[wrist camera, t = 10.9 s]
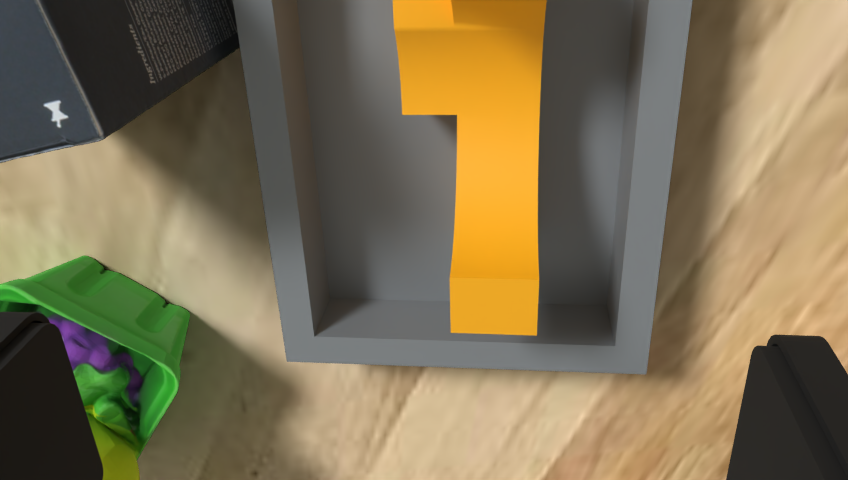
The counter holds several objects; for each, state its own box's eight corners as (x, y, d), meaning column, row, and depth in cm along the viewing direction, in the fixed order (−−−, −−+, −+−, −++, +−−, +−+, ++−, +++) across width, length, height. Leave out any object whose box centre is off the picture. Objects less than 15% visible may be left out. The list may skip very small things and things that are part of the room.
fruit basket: (65, 214, 31) (-147, 388, 21) (255, 319, 32) (140, 528, 22) (-9, 390, 36) (-208, 597, 26) (158, 474, 38) (30, 701, 28)
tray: (700, -293, 21) (731, -317, 18) (633, 320, 30) (646, 374, 27) (235, -265, 22) (191, -282, 19) (308, 311, 32) (286, 361, 29)
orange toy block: (402, -113, 23) (366, -99, 17) (545, -118, 23) (555, -105, 17) (417, 234, 29) (393, 330, 23) (532, 236, 28) (536, 335, 23)
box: (190, -129, 24) (-11, -113, 15) (251, 42, 27) (111, 148, 17) (-14, -65, 26) (-307, -15, 17) (61, 91, 28) (-160, 210, 19)
